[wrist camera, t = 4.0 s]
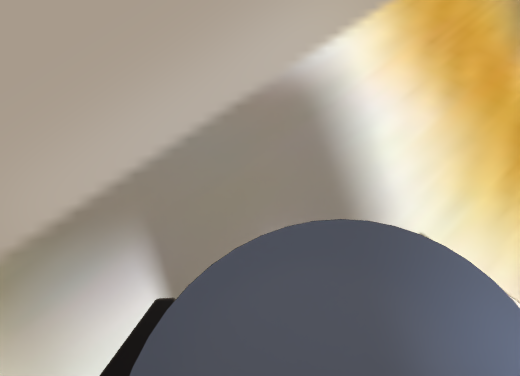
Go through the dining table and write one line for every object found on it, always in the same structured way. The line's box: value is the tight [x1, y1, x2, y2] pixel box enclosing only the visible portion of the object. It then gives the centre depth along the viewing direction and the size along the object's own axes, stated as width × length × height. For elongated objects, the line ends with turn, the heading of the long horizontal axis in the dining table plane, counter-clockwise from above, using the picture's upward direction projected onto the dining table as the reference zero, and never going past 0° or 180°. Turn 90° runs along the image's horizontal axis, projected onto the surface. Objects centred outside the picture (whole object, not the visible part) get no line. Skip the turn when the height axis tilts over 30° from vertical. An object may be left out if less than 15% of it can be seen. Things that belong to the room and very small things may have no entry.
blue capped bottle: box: [130, 219, 520, 376], centre depth 9 cm, size 4×4×12 cm
